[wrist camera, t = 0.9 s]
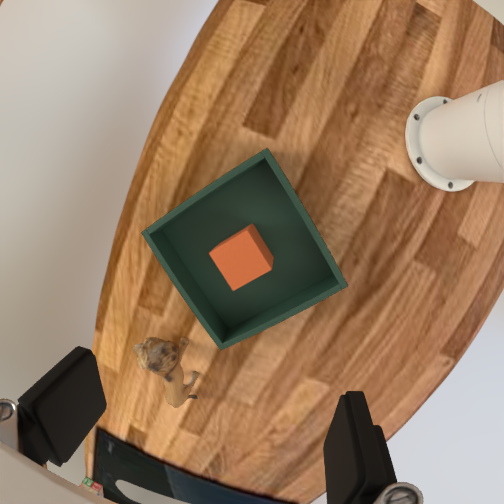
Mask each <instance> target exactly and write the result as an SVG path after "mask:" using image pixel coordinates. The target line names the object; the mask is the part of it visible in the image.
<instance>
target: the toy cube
mask: <svg viewBox="0 0 504 504" xmlns="http://www.w3.org/2000/svg"><path fill="white" fill-rule="evenodd" d="M209 254H210V256H211V258H212V259H213V261H214V262H215V264H216V265H217V267H218V268H219V270H220V272H221V273H222V275H223V276H224V278H225V279H226V281H227V282H228V284H229V285H230V287H231V288H232V290H233V291H234V290H236V289H238V288H240V287H241V286H243V285H245V284H247V283H249V282H250V281H252V280H254V279H256V278H258V277H259V276H261V275H263V274H265V273H267V272H268V271H270V270H272V265H273V260H274V257H273V255H272V254H271V252H270V250H269V249H268V247H267V245H266V244H265V242H264V241H263V239H262V237H261V236H260V234H259V233H258V231H257V229H256V228H255V226H254V224H253V223H252V224H250V225H249V226H247V227H246V228H244V229H242V230H241V231H239V232H237V233H236V234H234V235H232V236H231V237H229V238H227V239H226V240H224V241H223V242H221V243H219V244H218V245H217V246H216V247H215V248H214V249H213V250H212V251H211V252H210V253H209Z"/></svg>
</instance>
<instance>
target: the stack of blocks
mask: <svg viewBox="0 0 504 504" xmlns="http://www.w3.org/2000/svg"><path fill="white" fill-rule="evenodd" d="M79 487H81V488H83V489H85V490H87V491H89V492H92V493H94V494H96V495H98V496H101V497H103V498H104V495H103V486H102V485H100V484H98V483H96V482H94V481H93V480H91V479H89V478H87V477H85V479H84V480H83V481H82V484H81V485H80V486H79Z"/></svg>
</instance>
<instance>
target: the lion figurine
mask: <svg viewBox="0 0 504 504" xmlns="http://www.w3.org/2000/svg"><path fill="white" fill-rule="evenodd" d="M187 345H188V340H187V339H186V338H181V342H180V345H179V347H178V348H176V347H174V345H173V343H172V342H169V341H164V340H162V339H159V338H156V337H149V338H146V340H145V342H144V343H141V344H137V345H135V347H133V352H134V353H136V354H137V358H138V360H137V361H138V363H139V365H140V367H141V368H142V369H145V368H146V369H148V370H149V371H153V373H155V374H158V375H160V376H161V377H162V380H163V383H164V385H165V388H166V395H165V398H166V401H167V402H168V403H169V404H170V405H172V406H173V407H175V408H178V407H179V406H181V405H182V404H183V403H184V402H185V401H186V400H187V399H188V398H193V399H198V398H197V396H196V395H189V393H190V390H191V388H192V387H193V385H194V383H195V381H196V379H197V378H198V376H199V374H198V373H197V372H192V373H191V381H190V382H189V384H188V385H186V386H185V385H183V380H184V375H183V370H182V367H181V365H180V361H181V358H182V355H183V353H184V350H185V348H186V346H187Z"/></svg>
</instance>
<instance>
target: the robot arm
mask: <svg viewBox="0 0 504 504" xmlns="http://www.w3.org/2000/svg"><path fill="white" fill-rule="evenodd" d="M414 117H415V118H416V120H415V119H414ZM405 140H406V148H407V151H408V154H409V158H410V160H411V162H412V164H413V166H414V167H415V169H416V171H417V172H418V174H419V175H420V176H421V177H422V178H423V179H424V180H425V181H426V182H428V183H429V184H430V185H432V186H434V187H436V188H438V189H441V190H444V191H460V190H463V189H465V188H467V187H468V186H470V185H471V184H472V183H473V182H474V181H485V182H497V183H504V80H501V81H498V82H496V83H494V84H491V85H489V86H486V87H484V88H481V89H479V90H476V91H474V92H472V93H469V94H467V95H464V96H462V97H460V98H457V99H455V100H452V99H450V98H447V97H441V96H436V97H430V98H427V99H425V100H423V101H421V102H420V103H419V104H417V105H416V106H415V107H414V108H413V110H412V111H411V113H410V115H409V117H408V120H407V124H406V129H405ZM417 159H418V163H417ZM448 184H449V186H448ZM18 402H19V404H18V405H17V406H16V404H15V403H14V402H13V401H11V400H8V399H0V504H117V503H115V502H112V501H110V500H108V499H105V498H103V497H101V496H98V495H96V494H94V493H92V492H89V491H87V490H85V489H83V488H81V487H79V486H77V485H75V484H73V483H71V482H69V481H67V480H65V479H63V478H61V477H60V476H58V475H56V474H54V473H52V472H51V471H49V470H47V465H46V462H47V461H48V460H49V461H50V462H52V463H53V464H55V465H57V466H59V467H61V465H62V464H63V463H66V462H67V461H68V460H69V459H70V458H71V456H72V455H73V453H74V452H75V451H76V449H77V448H78V447H79V445H80V444H81V443H82V441H83V440H84V438H85V437H86V436H87V434H88V433H89V432H90V430H91V429H92V428H93V426H94V425H95V424H96V422H97V421H98V420H99V418H100V417H101V416H102V414H103V413H104V412H105V410H106V406H107V403H106V399H105V396H104V392H103V388H102V384H101V380H100V375H99V371H98V366H97V362H96V357H95V355H94V354H93V353H92V351H91V350H90V349H86V348H83V347H80V346H78V347H76V348H75V349H74V350H72V351H71V352H70V353H69V354H68V355H67V356H65V357H64V358H63V359H62V360H61V361H60V362H59V363H58V364H56V365H55V366H54V367H53V368H52V369H51V370H50V371H48V372H47V373H46V374H45V375H44V376H43V377H42V378H41V379H40V380H39V381H37V382H36V383H35V384H34V385H33V386H32V387H31V388H30V389H29V390H27V391H26V392H25V393H24V394H23V395H22V396H21V397H20V398H19V399H18ZM323 451H324V464H325V477H326V492H327V504H423V495H422V493H421V491H420V490H419V489H418V488H417V487H416V486H414V485H412V484H409V483H406V482H398V483H397V479H396V476H395V472H394V468H393V465H392V461H391V457H390V454H389V450H388V447H387V444H386V440H385V437H384V434H383V430H382V428H381V426H380V425H373V422H372V419H371V415H370V412H369V409H368V405H367V402H366V399H365V395H364V393H363V391H347V392H346V394H345V395H341V396H340V399H339V402H338V405H337V408H336V411H335V414H334V417H333V420H332V422H331V425H330V428H329V431H328V434H327V436H326V439H325V442H324V448H323Z"/></svg>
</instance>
